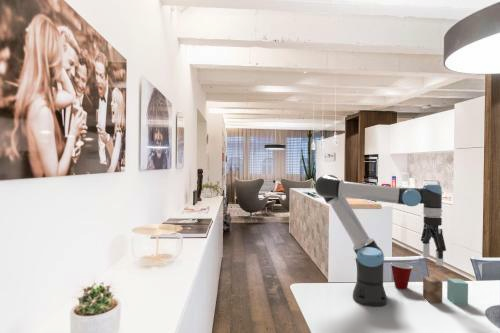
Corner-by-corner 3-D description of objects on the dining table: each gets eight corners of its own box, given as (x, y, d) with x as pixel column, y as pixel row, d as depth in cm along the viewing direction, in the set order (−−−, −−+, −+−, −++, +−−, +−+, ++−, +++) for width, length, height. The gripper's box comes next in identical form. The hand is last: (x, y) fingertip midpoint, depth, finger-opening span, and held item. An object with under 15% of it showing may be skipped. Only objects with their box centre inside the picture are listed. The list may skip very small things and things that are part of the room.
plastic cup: (416, 288, 159) (417, 265, 160) (405, 292, 153) (406, 268, 153) (396, 281, 168) (397, 260, 169) (385, 285, 162) (386, 263, 162)
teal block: (453, 304, 141) (454, 282, 141) (447, 299, 147) (447, 278, 147) (467, 305, 140) (468, 283, 140) (460, 300, 146) (460, 279, 146)
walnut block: (428, 302, 142) (428, 281, 142) (422, 297, 148) (423, 276, 148) (442, 303, 141) (442, 282, 141) (436, 298, 147) (436, 277, 147)
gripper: (454, 220, 133) (455, 269, 132) (429, 213, 157) (429, 254, 157) (436, 220, 134) (436, 268, 133) (413, 212, 158) (413, 253, 158)
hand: (432, 261), depth 145 cm, fingers open, 13 cm apart
